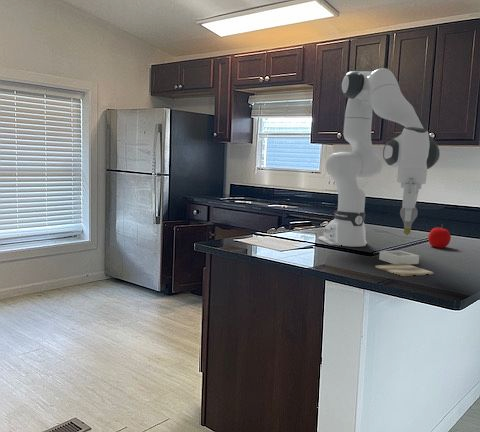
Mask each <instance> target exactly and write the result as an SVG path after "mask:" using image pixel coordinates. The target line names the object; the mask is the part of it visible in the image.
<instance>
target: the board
mask: <svg viewBox="0 0 480 432" xmlns="http://www.w3.org/2000/svg"><path fill="white" fill-rule="evenodd" d="M374 268H376V269H379V270H382V271H386V272H388V273H390V274H393V273H394V275H396V274H397V276H399V275H400V277H402V276H403V277H414V276H413V275H416V276H425V275H426V274H429V275H434V273H435V272H434V271H430V270H427V269H425V268H420V267H417V266H414V265H412V264H392V263H390V264H378V265H375V267H374ZM426 276H427V275H426Z"/></svg>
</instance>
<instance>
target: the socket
mask: <svg viewBox="0 0 480 432" xmlns="http://www.w3.org/2000/svg"><path fill="white" fill-rule="evenodd" d="M378 257H379V258H378V260H380V261H383V262H387V263H390V264H408V265H419V260H420V255H418V254H414V253H411V252H408V251H404V250H401V249H400V250H383V251H382V250H380V251H379V256H378Z"/></svg>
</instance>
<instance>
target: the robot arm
mask: <svg viewBox="0 0 480 432" xmlns="http://www.w3.org/2000/svg"><path fill="white" fill-rule="evenodd" d="M341 92H342V94H343V96H344V97H345V98H348V99H347V103H346V107H345V113H344V124H343V134H342V135H343V138H344V140H345V141H346V142H347V143H349V146H350V147H351V152H350V151H339V152H338V151H337V152H334V153H331V154H330V155H329V156H328V157H327V159H326V161H325V169H326V172H327V174H328V175H329V176H330V177H331V178H332V179H333V181H334V183H335V185H336V189H337V196H338V197H337V198H338V199H337V201H338V202H337V210H335V211H333V212H334V213H333V214H334V219H332V220H331V221H330V222H329V223H328V224H326V225H325V227H324V230H323V235H320V236H318V238H317V239H318V240H320V241H322V242H324V243H326V244H329V245H330V246H331V245H332V246H341V245H342V247H352V248H353V247H356V248H357V247H366V245H367V244H368V241H367V240H366V238H367V237H366V224H365V222H364V221H365V220H366V218H365V217H366V212H365V208H366V207H365V205H366V194H365V191H364V190H363V189H362V188H360V187H359V186H358V181H357V180H359V179H360V180H361V179H362V180H363V179H364V180H367V179H373V178H376V177H378V176H379V175H380V173H381V172H382V168H383V163H382V160H381V158H380V156H378V155H377V153H376V151H375V149H374V147H373V142H372V125H373V124H372V123H373V122H372V121H373V112H374V114H375V115H377V116H378V117H380V118H381V119H383V120H388V121H391V122H394V123H397V124H399V125H401V126H403V127H404V128H403V130H402V132H401V133H400V134H399V135H398V136H397V137H394V138H391V139H389V140H388V141H387V142H386V143H385V144H384V146H383V149H382V150H383V151H382V153H383V154H382V157H383V160H384V162H385V163H386V164H387V165H388V166H391V167H395V168H398V169H397V179H396V180H397V181H396V182H397V183H400V188H402V189H403V192H402V204H401V205H402V207H403V208H405V221H411V214H412V209H413V208H414V207H416V203H417V200H418V196H419V192H420V189H421V190H422V185H425V184H427V175H428V174H427V173H428V170H429V169H431V168H432V167H434V166H435V165H436V164H437V162H439V158H440V154H441V153H440V148H439V146H438V144H437V142H436V141H435V139H433V137H432V136H431V135H430V133H429V131H428V129H427V127H426V124H425V123H424V121H423V119H422V117H421V115H420V114H419V111H418V110H417V108H416V107H415V106H414V105H413V104H412V103H410V102H409V101H408V100H407V99H406V97H405V96H404V95H403V93H402V91H401V88H400V85H399V81H398V77H397V76H396V75H394V73H393V72H392V71H391V70H390V69H388V68H386V67H385V68H384V67H381V68H377V69H375V70H374V71H373V70H372V71H369V70H368V71H363V70H362V71H358V70H354V71H353V70H352V71H348V72H347V73H346V74H345V75H344V76H343V79H342V82H341ZM402 207H401V208H402Z"/></svg>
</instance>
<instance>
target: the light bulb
mask: <svg viewBox="0 0 480 432" xmlns="http://www.w3.org/2000/svg"><path fill="white" fill-rule="evenodd" d="M418 213H419V212H418V208H417V207H416V206H415V207H414V208H413V209H412V214H411V221H405V208H403V207H401V208H400V211H399V214H400V215H399V216H400V218H401V219H402V222H403V234H405V235H407V236H409V235H410V234H411V229H412V224H413V223H414V221H415V220H416V218H418Z"/></svg>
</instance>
